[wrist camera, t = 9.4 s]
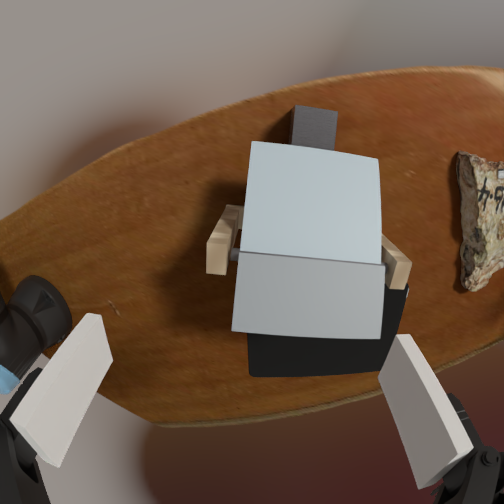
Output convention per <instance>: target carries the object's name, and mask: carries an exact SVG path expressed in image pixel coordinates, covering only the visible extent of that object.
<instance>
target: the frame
mask: <svg viewBox="0 0 504 504" xmlns="http://www.w3.org/2000/svg"><path fill="white" fill-rule="evenodd" d="M244 208H245V206H239V205H226V208H225V210H224V212H223V214H222V216H221V217H220V219H219V221H218V223H217V225H216V227H215V229H214V230H213V232H212V234H211V236H210V238H209V240H208V242H207V258H206V273H209V274H219V275H226V271H227V268H228V264H229V260H230V257H231V249H232V248H233V246H234V243H235V239H236V235H237V232H238V229H242V226H243V217H244ZM381 262H384V263H387V264H388V272H387V274H385V283H386V285H387V286H388V287H389V289H402V290H404V288H405V285H406V282H407V279H408V276H409V273H410V269H411V266H412V262H411V261H410V260H409V259H408V258H407V257H406V256H405V255H404V254H403V253H402V252H401V251H400V250H399V249H398V248H397V247H396V246H395V245H393V244H392V243H391V242H390V241H389V240H388V239H387V238H386V237H385V236H384V235H383V234H382V233H381Z"/></svg>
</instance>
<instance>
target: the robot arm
mask: <svg viewBox="0 0 504 504" xmlns="http://www.w3.org/2000/svg"><path fill="white" fill-rule="evenodd" d="M71 328H72V318H71V314H70V311H69V308H68V306H67V304H66V302H65V300H64V299H63V297H62V296H61V294H60V293H59V292H58V290H57V289H56V288H55V287H54V286H53V285H52V284H51V283H49V282H48V281H47V280H45V279H43V278H41V277H39V276H35V275H31V276H28V277H26V278H25V279H24V280H22V281H21V282H20V283H19V284H18V286H17V288H16V290H15V292H14V293H13V295H12V297H11V298H10V300H9V302H8V304H7V305H6V304H5V302H4V299H3V297H2V295H1V293H0V394H9V393H10V392H11V391H12V390H13V389H14V388H15V387H16V386H17V385H18V384H19V383H20V380H21V379H22V378H23V376H24V375H25V374H26V372H27V371H28V370H29V369H30V367H31V366H32V365H33V363H34V362H35V361H36V359H37V358H38V357H39V356H40V354H41V353H42V352H43V351H44V350H45V349H47V348H49V347H51V346H53V345H55V344H57V343H59V342H61V341H62V340H64V339H65V338H66V336H67V335H68V334H69V333H70V331H71ZM112 361H113V359H112V356H111V352H110V349H109V345H108V341H107V337H106V334H105V330H104V326H103V321H102V317H101V315H97V314H91V313H87V314H86V315H85V316H84V317H83V319H82V320H81V321H80V322H79V324H78V325H77V326H76V327H75V328H74V330H73V331H72V332H71V334H70V335H69V336H68V337H67V339H66V340H65V341H64V342H63V344H62V345H61V346H60V348H59V349H58V350H57V352H56V353H55V354H54V356H53V357H52V358H51V360H50V361H49V362H48V364H47V365H46V366H45V368H44V369H41V368H39V367H38V368H37V369H35V370H34V371H32V372H31V373H29V374H28V376H27V377H26V379H25V380H24V381H23V384H21V385H20V387H19V388H18V391H16V393H15V394H14V395H13V397H12V399H11V400H10V401H9V403H8V404H7V406H6V407H5V409H4V410H3V412H2V413H1V414H0V504H51V503H50V501H49V498H48V495H47V492H46V489H45V486H44V483H43V480H42V477H41V473H40V470H39V466H38V463H37V461H36V459H35V457H36V455H37V454H38V455H39V456H40V457H41V458H42V459H43V460H44V461H46V462H48V463H49V464H51V465H53V466H56V467H58V468H59V467H60V465H61V463H62V461H63V458H64V456H65V454H66V452H67V449H68V447H69V445H70V443H71V441H72V439H73V437H74V434H75V432H76V430H77V428H78V426H79V424H80V422H81V420H82V418H83V416H84V414H85V412H86V410H87V408H88V406H89V404H90V403H91V401H92V398H93V397H94V395H95V393H96V391H97V389H98V387H99V385H100V383H101V382H102V380H103V378H104V376H105V374H106V372H107V370H108V369H109V367H110V365H111V363H112ZM378 380H379V382H380V385H381V387H382V389H383V392H384V394H385V397H386V399H387V402H388V405H389V407H390V409H391V412H392V415H393V417H394V420H395V423H396V425H397V428H398V431H399V434H400V436H401V439H402V442H403V444H404V447H405V450H406V453H407V456H408V459H409V462H410V465H411V468H412V471H413V474H414V477H415V480H416V483H417V486H418V489H422V488H424V487H427V486H430V485H433V484H435V483H436V482H437V481H438V480H440V479H441V478H443V481H444V482H443V483H442V484H441V485H440V486H438V487H437V488H436V489H435V490H433V491H432V493H431V495H434V494H435V493H436V492H438V493H437V495H436V496H435V497H436V498H435V501H434V503H433V504H504V492H503V488H504V452H498V451H497V450H496V449H495V448H493V447H491V446H484V444H483V443H482V442H481V439H480V437H479V435H478V433H477V431H476V429H475V428H474V426H473V424H472V422H471V420H470V419H469V418H468V415H467V413H466V412H465V411H464V407H463V406H462V404H461V402H460V400H459V399H457V398H456V397H455V396H454V395H453V394H452V393H449V394H446V393H445V392H444V390H443V389H442V386H441V385H440V383H439V381H438V380H437V378H436V376H435V374H434V373H433V371H432V369H431V368H430V366H429V364H428V363H427V361H426V359H425V358H424V356H423V355H422V353H421V351H420V350H419V348H418V347H417V345H416V343H415V342H414V340H413V339H412V337H411V336H410V334H401V335H396V336H395V338H394V341H393V343H392V346H391V348H390V351H389V353H388V355H387V358H386V360H385V362H384V365H383V367H382V369H381V371H380V374H379V376H378Z"/></svg>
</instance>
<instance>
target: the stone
mask: <svg viewBox="0 0 504 504" xmlns="http://www.w3.org/2000/svg"><path fill="white" fill-rule="evenodd" d="M456 172H457V180H458V185H459V190H460V194H461V206H460V212H461V216H462V218H461V224H462V230H463V233H462V234H463V238H464V241H463V242H462V244H461V248H460V256H461V277H460V279H461V284H462V286H463V287H464V288H465V289H469V291H477V290H479V289H481V288H483V287H484V286H485V285H487V283H488V279H489V278H490V277H492V276H491V274H492V273H494V272H495V271H498V270H499V269H501V268H503V267H504V162H501V161H499V162H498V163H497V162H487V160H486V159H485V158H479V157H478V156H477V155H474V154H472V155H470V154H469V153H468V152H464V151H459V153H458V156H457V162H456Z"/></svg>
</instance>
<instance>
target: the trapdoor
mask: <svg viewBox="0 0 504 504" xmlns="http://www.w3.org/2000/svg"><path fill="white" fill-rule="evenodd" d="M231 261H238V269H237V279H236V289H235V299H234V310H233V320H232V330H231V331H237V332H247V333H258V334H270V335H283V336H298V337H317V338H345V339H380V335H381V326H382V314H383V301H384V284H385V274H387V272H388V264H387V263H384V262H381V197H380V179H379V165H378V159H375V158H370V157H364V156H359V155H354V154H348V153H342V152H336V151H330V150H324V149H317V148H310V147H303V146H295V145H286V144H277V143H268V142H257V141H252V145H251V154H250V163H249V171H248V180H247V189H246V199H245V208H244V217H243V226H242V236H241V246H240V249H239V248H232V249H231Z"/></svg>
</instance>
